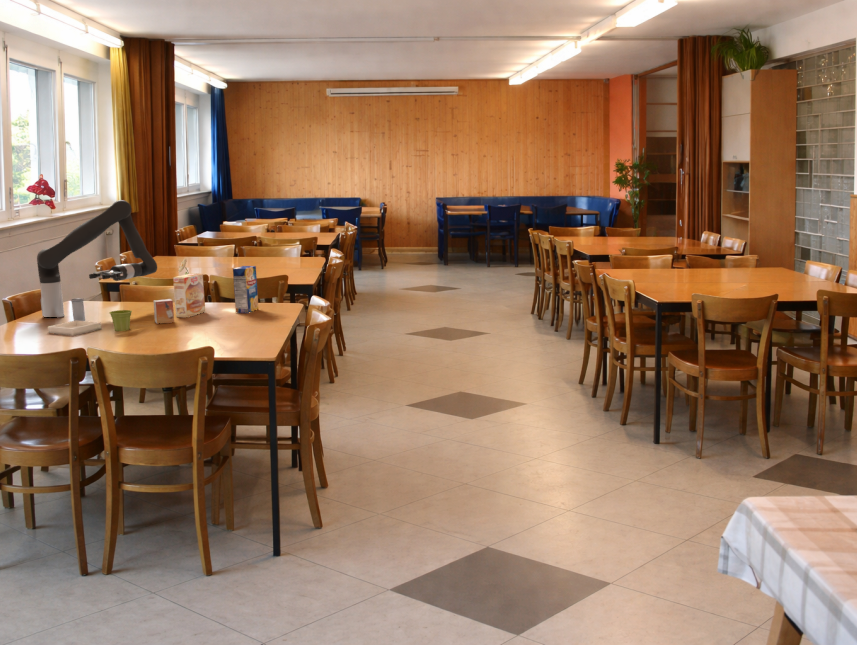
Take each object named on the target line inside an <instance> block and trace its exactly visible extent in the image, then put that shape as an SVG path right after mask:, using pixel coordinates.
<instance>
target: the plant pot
mask: <svg viewBox="0 0 857 645" xmlns="http://www.w3.org/2000/svg"><path fill="white" fill-rule="evenodd" d="M132 312H133V311H132V310H131V309H129V310H128V309H121V310H113V311H109V314H110V317H111V319H112V324H113V329H114V331H115V332H126V331H129V330H130V326H131V316H132Z"/></svg>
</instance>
